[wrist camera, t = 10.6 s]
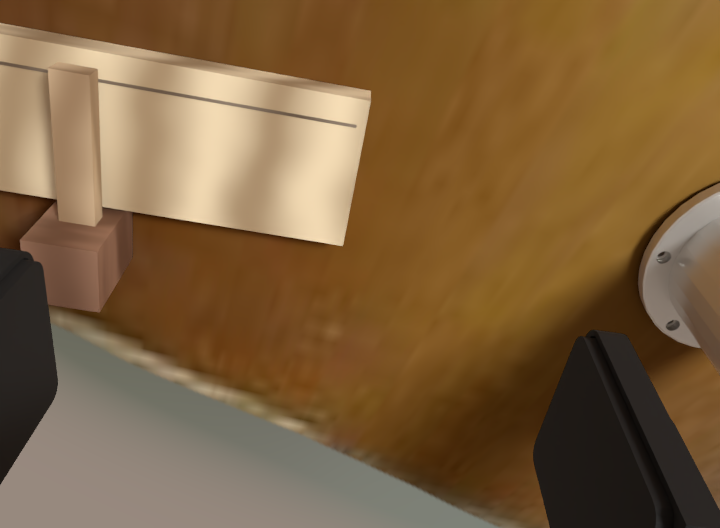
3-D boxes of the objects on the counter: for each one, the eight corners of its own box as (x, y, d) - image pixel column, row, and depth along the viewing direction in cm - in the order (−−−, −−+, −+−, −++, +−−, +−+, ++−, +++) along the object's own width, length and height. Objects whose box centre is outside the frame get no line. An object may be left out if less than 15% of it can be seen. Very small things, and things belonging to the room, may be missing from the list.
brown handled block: (131, 60, 35) (91, 94, 30) (132, 267, 42) (99, 323, 37) (56, 47, 35) (2, 78, 30) (69, 257, 42) (27, 313, 37)
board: (370, 90, 36) (370, 101, 34) (343, 231, 41) (342, 246, 39) (-42, 15, 34) (-62, 22, 33) (-21, 171, 39) (-37, 184, 37)
